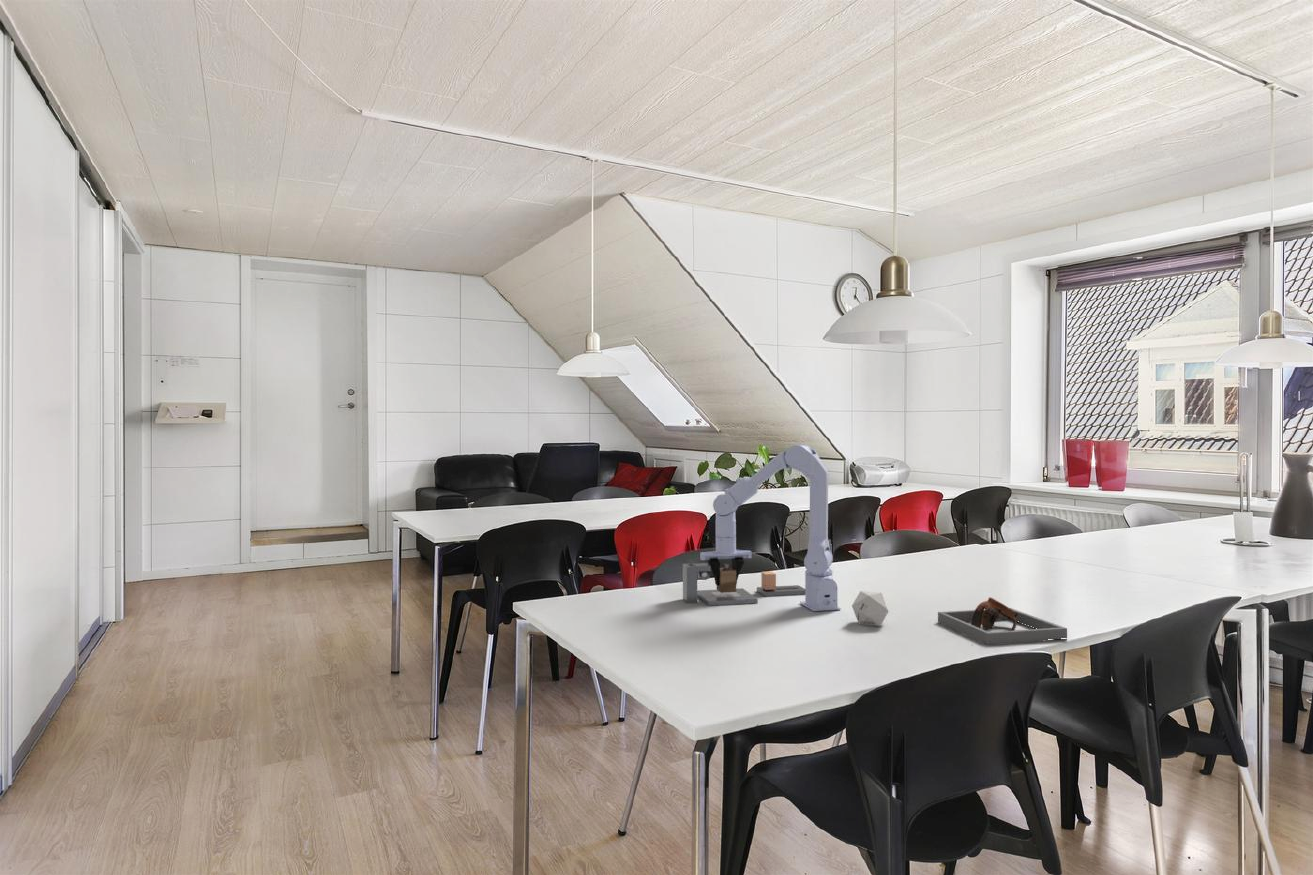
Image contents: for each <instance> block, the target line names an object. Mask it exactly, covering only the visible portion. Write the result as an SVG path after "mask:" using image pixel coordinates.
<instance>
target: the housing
mask: <svg viewBox="0 0 1313 875" xmlns="http://www.w3.org/2000/svg"><path fill="white" fill-rule="evenodd" d="M719 576H720V582H719V585H718V586H717V585H716V590H718V591H719V592H721V593H725V592H736V589H737V585H736V570H735V569H733V568H732V567H730V563H723V566H722V567H720V573H719Z"/></svg>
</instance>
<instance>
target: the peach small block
mask: <svg viewBox="0 0 1313 875" xmlns="http://www.w3.org/2000/svg"><path fill="white" fill-rule="evenodd" d="M760 576H761V587H762V588H764V589H765V590H776V586H777V574H776V573H775V572H773V571H761V575H760Z"/></svg>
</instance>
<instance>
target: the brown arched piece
mask: <svg viewBox="0 0 1313 875" xmlns="http://www.w3.org/2000/svg"><path fill="white" fill-rule="evenodd" d="M1010 608H1011V607H1009V606H1007V605H1005V604H1003V603H1001V602H1000V601H998V600H997V599H995V598H993V597H988V600H984V601H982V602H981V603H979V604H978V605H977V606H976V608H975V609H974V610H975V612H974V614H973V617H972V621H970V624H971V625H973V626H976V627H978V628H980V629H981V628H982V627H983V628H984V630H993V627H994V625H995V623H996V621H997V618H998V617H999V613H1000V614H1002V615H1003V616H1005V617H1008V619H1007V620H1009V621H1011V622H1012V626H1011V631H1015V630H1016V627H1017V622H1016V616H1017V615H1018V614H1017V612H1015V611H1013V610H1012V609H1013V608H1012V609H1010ZM984 609H985V610H984ZM981 626H982V627H981Z"/></svg>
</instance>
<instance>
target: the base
mask: <svg viewBox="0 0 1313 875" xmlns="http://www.w3.org/2000/svg"><path fill="white" fill-rule="evenodd" d="M756 592H757V593H758V594H760V595H762V596H763V597H779V596H780V597H781V596H783V597H784V596H799V595H801V596H802V595H805V587H802V586H801V585H798V584H797V585H796V584H795V585H776V590H765V589H764V588H762V586H757V587H756Z"/></svg>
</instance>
